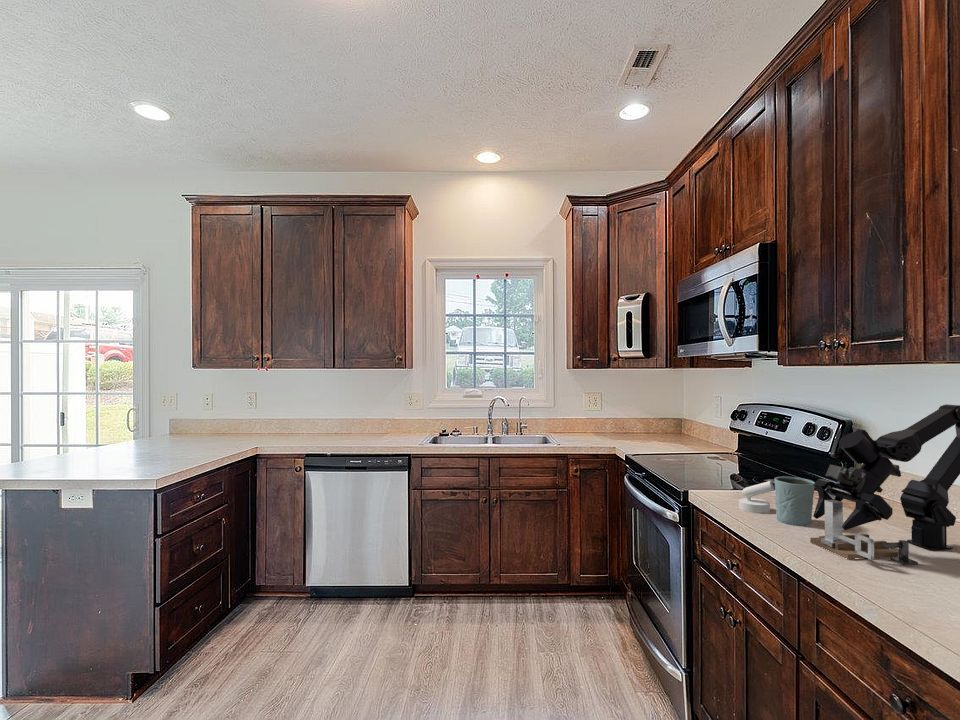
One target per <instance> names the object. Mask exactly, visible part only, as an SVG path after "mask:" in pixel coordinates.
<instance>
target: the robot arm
mask: <svg viewBox="0 0 960 720" xmlns="http://www.w3.org/2000/svg"><path fill="white" fill-rule="evenodd" d="M954 426H955V433H956V435H955V438H954V439H953V440H952V441H951V443H950V444H949V445H948V446H947V448H946V450H945V451H944V452H943V453H942V455H941V456H940V458H939V459H938V460H937V462H936V463H935V464H934V466H933V467H932V468H931V470H930V471H929V472H928V474H927V475H926V477H924V479H921V480H915V479H910V480H909V481H908V483H907V485H906V486H905V487H904V488H903V489H902V490H900V491H901V492H902V494H901V496H900V498H899V500H900V504H901V507H902V508H903V512H904V514H905V517H907V518H911V519H912V525H911V539H907V540H906V541H908V542H909V544H912V545H915V546H917V547H920V548H923V549H925V550H929V551H942V550H943V551H945V550H953V549H954V547H953V546H951V545H948V544H947V543H948V542H947V536H948V535H947V533H948V531H947V528H950V527H953V526H955V523H956V519H957V517H956V516H955V514H953V513H952V511H951V510H950V509H949V508H948V505H949V502H950V501H949V490H950V488H951V487H952V486H953V484H954V483H955V482H956V480H957V479H958V477H959V476H960V404H959V405H958V404H942V405H940V406H939V407H938V409H937V410H935V411H933V412H932V413H929V414H928V415H927V416H925V417H923V418H922V419H920V420H918V421H916V422H915V423H914V424H912V425H910V426H908V427H907V428H905V429H901V430H897V431H892V432H891V431H890V432H888V433H886V434H882V435H881V436H879V437H878V438H877V439H873V438H872V436H870V435H869V433H868V432H867V430H865V429H861V428H857V429H856V431H853V432H849V433H847V434H846V435H843V436H842V437H840V438H839V441H838V446H839V447H840V448H841V449H842V450H843V452H845V453H846V455H848V457H849V458H850V459H851V460H852V461H853V462H854V463H856V464H857V465H859V464H861V465H860V466H859V467H858V468H857V467H853V466H850V467H849V468H845V467H842V466H838V465H835V464H831V463H830V464H829V466H828V467H827V471H826V473H825V477H827V478H830V479H832V480H834V481H837V482H836V484H835V482H833V481H830V480H827V479H823V478H818V479H817V480H816V481H814V482H815V483H814V486H815V490H816V492H817V493H818V499H817V503H816V506H815V509H814V511H813V514H812V517H813V518H814V519H816V520H817V519H820V518H821V517H823V516H825V500H837V501H840V502H843V500H846V501H850V502H852V503H855V507H854V509H853V511H852V512H851V513H850V514H849V515H848V517H847V519H845V521H844V522H843V526H842V528H843V531H847V530H850V529H853V528H857V527H859V526H862V525H864V524H869V523H872V522H876V521H879V522H880V521H882V520H886V521H888V520H889V519H891V516H892V515H893V511H894V510H893V507H892V506H891V505H890V504H889V503H888V502H887V501H886V500H885V499H884V498H883V497H882V496H881V495H879V494H875V493H882V491H883V488H882V487H881V486H882V485H883V484H884V482H885V481H886V480H887V479H888V478H889V477H890V476H894V477H899V478H900V477H901V476H902V472H901V470H900V465H899V464H894V463H893V462H892V461H898V462H902V463H903V462H904V463H907V462H910V461H912V460H913V459H915V457H916V456H917V455H918V454H919V453H921V451H922V447H923V445H924V444H926V443H928V442H929V441H931V440H932V439H934V438H936V437H937V436H939V435H940V434H942V433H944V432H946V431H947V430H948V429H950V428H952V427H954ZM837 485H838V486H837ZM839 487H840V488H841V489H840V488H839Z"/></svg>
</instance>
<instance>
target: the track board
mask: <svg viewBox="0 0 960 720" xmlns="http://www.w3.org/2000/svg"><path fill="white" fill-rule="evenodd" d="M860 535H862V536H865V537H868V538H870V535H869V534H868V533H860ZM843 536H846V537H848V538H851V539H853V540H855V534H843ZM821 538H825V535H819V536H818V537H810V540H809V541H810V542H812V543H811V544H813V543H814V544H813V545H815V544H816V545H815V546H817V545H818V546H817V547H819V546H820V548H821V547H823V548H822V549H824V548H825V549H824V550H826V549H827V550H826V551H828V550H829V551H828V552H830V551H831V553H832V552H833V554H834V553H836V554H835V555H837V554H838V555H837V556H839V555H840V556H839V557H841V556H842V557H841V558H843V557H844V559H845V558H847V559H846V560H848V559H851V560H856V559H855V558H865V557H863V556H861V555H859V554H856V553H855V545H853V544H851V543H849V542H846V541H845V543H835V547H831V546H828V545H826V544H824V543H822V542H821ZM843 541H844V540H843ZM883 543H888V541H886V540H874V559H888V558H889V557H899V551H897V550H894V549H893V548H884V547H883V546H882V544H883ZM861 551H863V552H866V553H868V542H865V541H863V540H861ZM889 559H890V558H889Z"/></svg>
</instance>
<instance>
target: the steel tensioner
mask: <svg viewBox="0 0 960 720" xmlns="http://www.w3.org/2000/svg"><path fill="white" fill-rule="evenodd" d="M843 508H844V507H843V501H841V502H840V501H837V500H825V514H824V536H825V538H821V542H822V543H824V544H826V545H828V546H831V547H835V543H845V541H846V542H849V543H851V544H853V545H855V553H856V554H859V555H861V556H863V557H865V558H868V559H867V560H871V561H873V560H875V558H874V541H875V540H874V539H872V538H870V537H869V538H868V537H865V536H862V535H860V534H861V533H860V534H859V533H854V535H855V540H853V539H851V538H848V537H846V536H843V535H844V529H843V528H842V526H843V524H844V522H843V518H844V514H843V513H844V510H843ZM843 540H844V541H843ZM861 540H863V541H865V542H868V553H866V552H863V551H861Z"/></svg>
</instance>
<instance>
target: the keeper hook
mask: <svg viewBox="0 0 960 720" xmlns="http://www.w3.org/2000/svg"><path fill="white" fill-rule="evenodd" d="M909 544H910V543H909V542H908V541H907V540H905V539H899V540H898V542H897V541H894V542H887V543H883V544H882V546H883V547H884V548H889V549H898V557H890V558H889V561H892V562H894V563H896V562H897V564H900V565H901V566H904V567H905V566H918V565H919V562H918V561H916V560H913V559H912V558H910V556H909V554H910V549H909V548H910V546H909Z"/></svg>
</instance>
